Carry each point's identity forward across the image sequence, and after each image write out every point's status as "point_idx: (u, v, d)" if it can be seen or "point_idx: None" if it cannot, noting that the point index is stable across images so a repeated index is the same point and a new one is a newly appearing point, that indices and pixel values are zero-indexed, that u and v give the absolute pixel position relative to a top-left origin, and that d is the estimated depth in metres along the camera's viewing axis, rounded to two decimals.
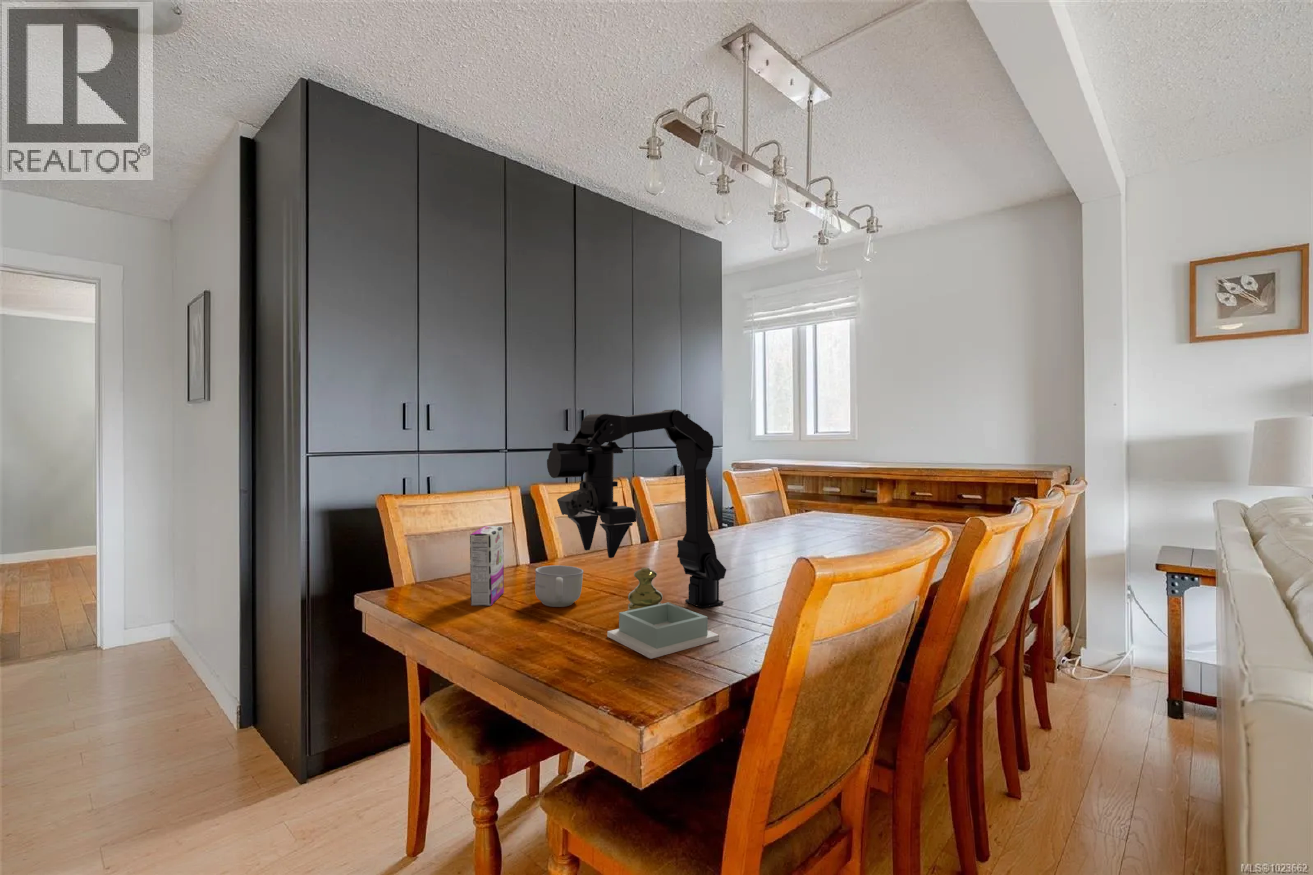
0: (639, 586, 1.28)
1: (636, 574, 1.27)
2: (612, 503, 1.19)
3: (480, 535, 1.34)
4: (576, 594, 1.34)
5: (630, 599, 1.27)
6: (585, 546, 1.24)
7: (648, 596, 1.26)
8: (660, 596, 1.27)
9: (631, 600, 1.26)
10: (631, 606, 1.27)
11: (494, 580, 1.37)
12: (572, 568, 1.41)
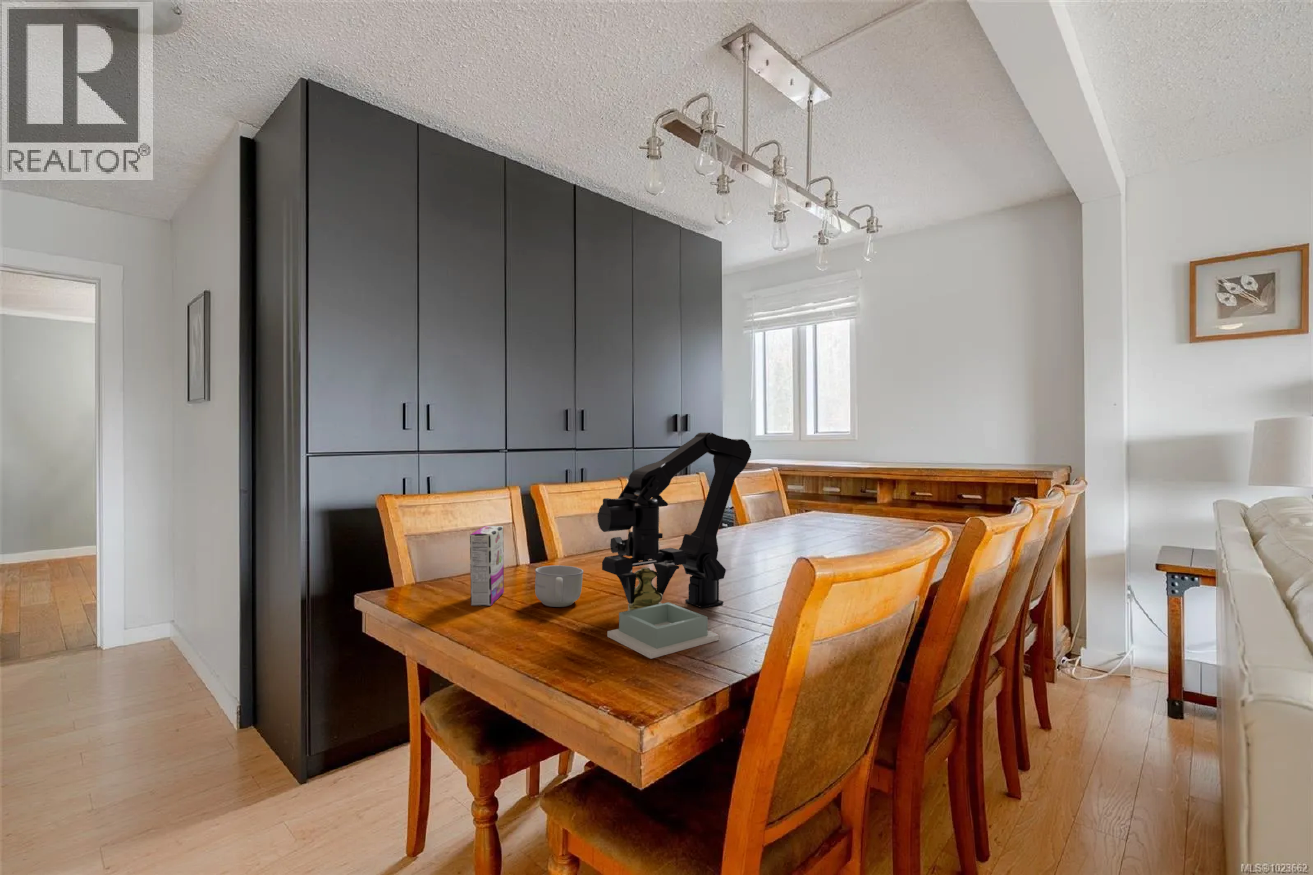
0: (639, 586, 1.28)
1: None
2: (640, 555, 1.26)
3: (480, 535, 1.34)
4: (576, 594, 1.34)
5: None
6: None
7: (648, 596, 1.26)
8: (660, 596, 1.27)
9: None
10: (631, 606, 1.27)
11: (494, 580, 1.37)
12: (572, 568, 1.41)
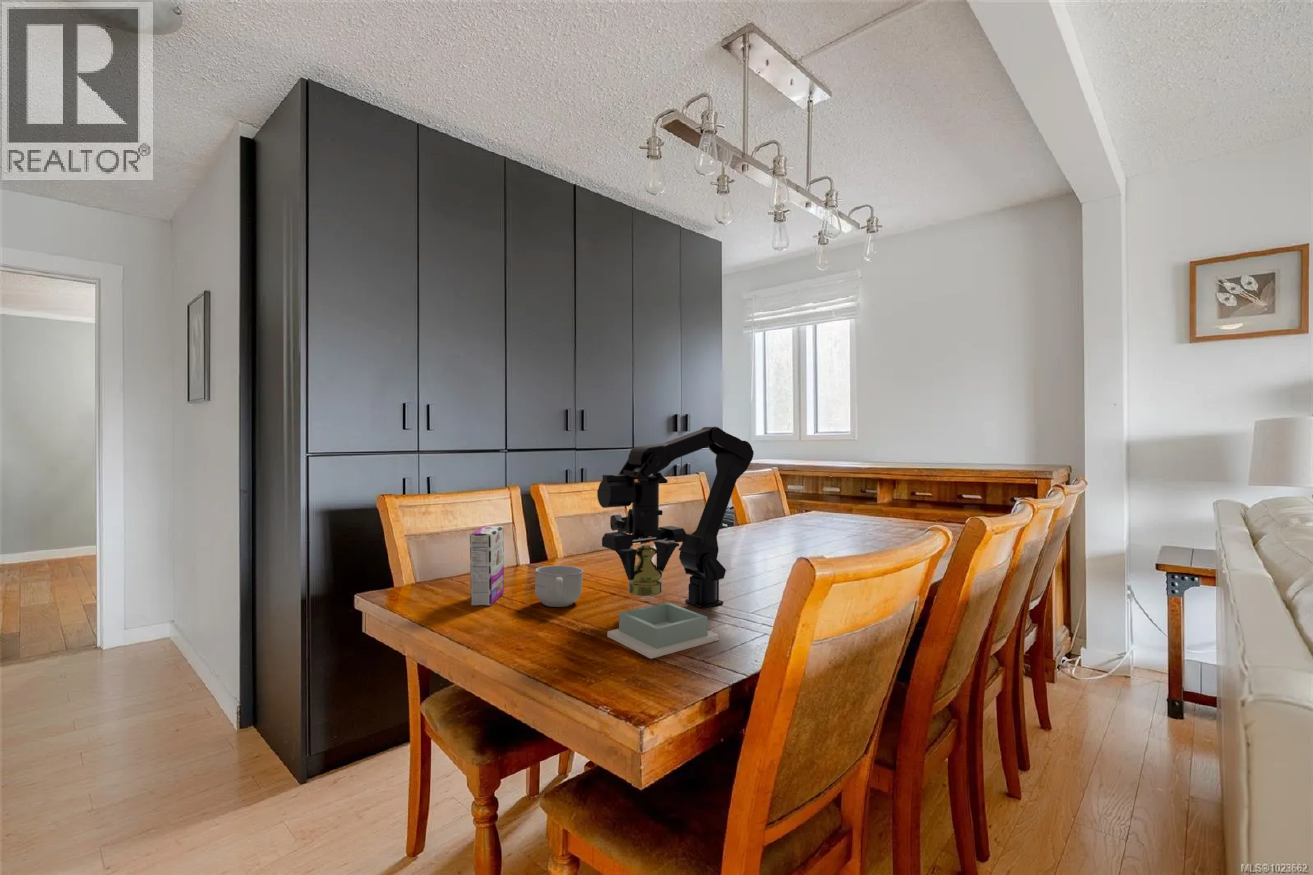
0: (639, 563, 1.28)
1: (636, 551, 1.27)
2: (640, 532, 1.26)
3: (480, 535, 1.34)
4: (576, 594, 1.34)
5: None
6: None
7: (648, 573, 1.26)
8: (660, 573, 1.27)
9: None
10: (631, 583, 1.27)
11: (494, 580, 1.37)
12: (572, 568, 1.41)
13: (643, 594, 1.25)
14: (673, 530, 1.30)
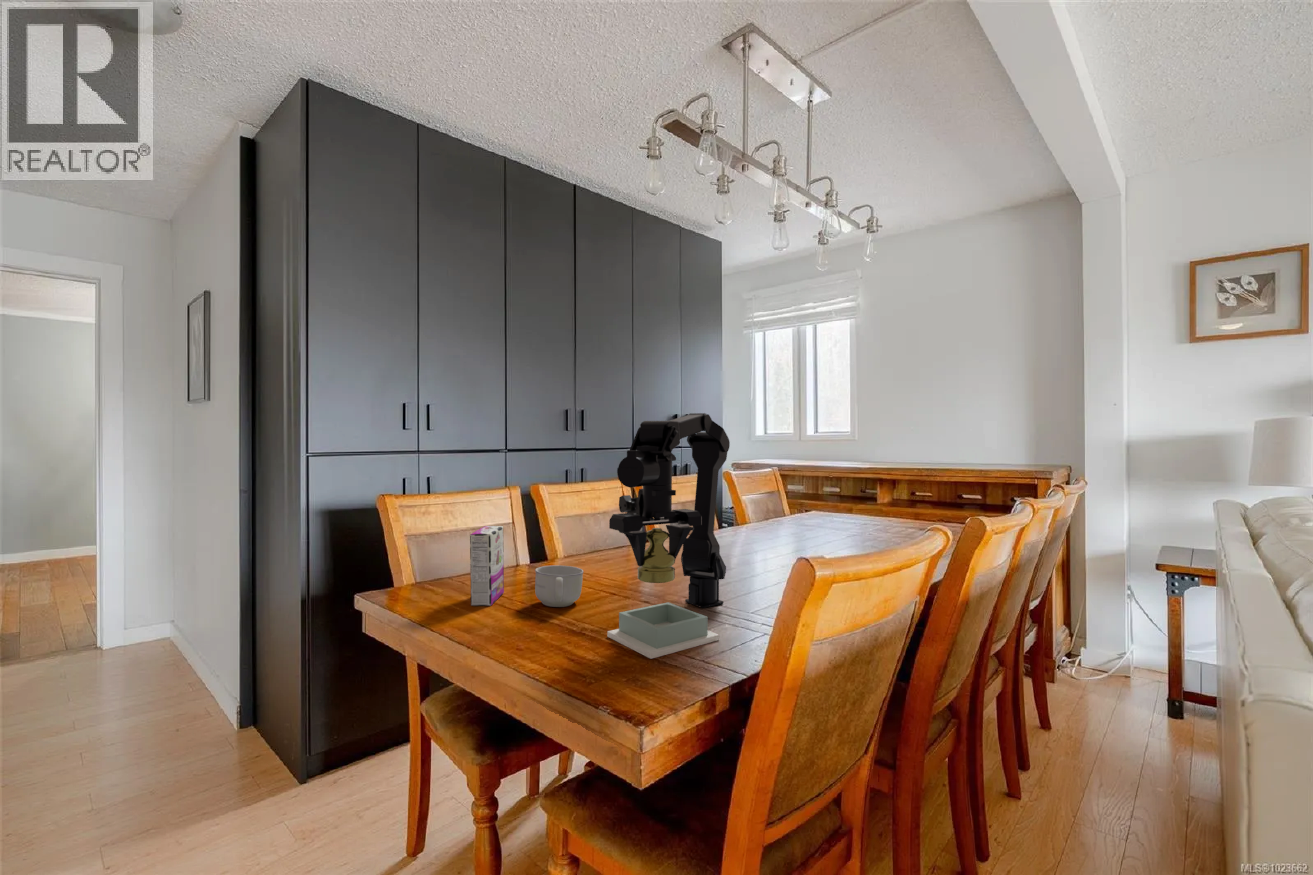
0: (650, 547, 1.17)
1: None
2: (651, 513, 1.15)
3: (480, 535, 1.34)
4: (576, 594, 1.34)
5: None
6: None
7: (660, 558, 1.15)
8: (672, 558, 1.16)
9: None
10: (641, 569, 1.16)
11: (494, 580, 1.37)
12: (572, 568, 1.41)
13: (654, 581, 1.14)
14: (687, 512, 1.19)
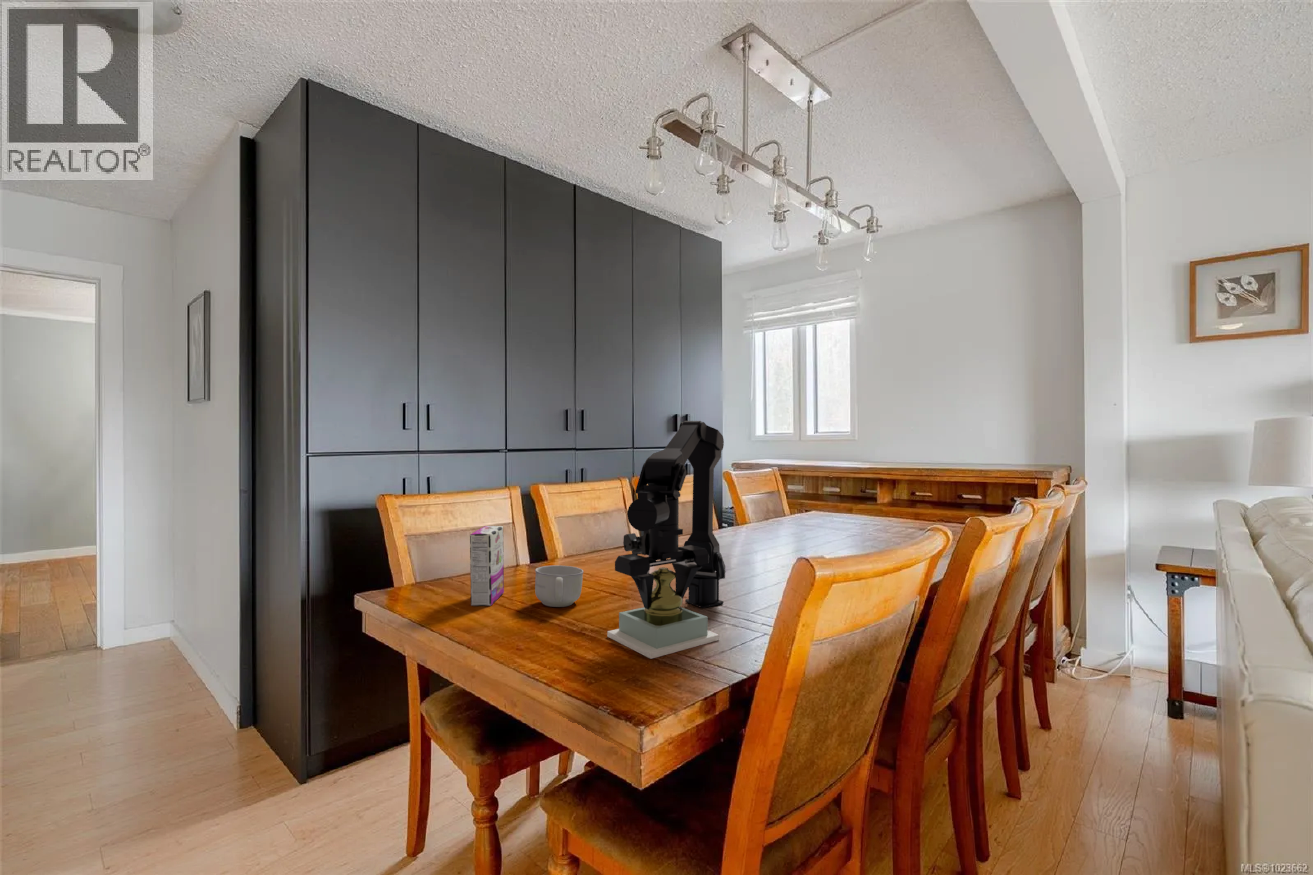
0: (656, 588, 1.13)
1: None
2: (658, 554, 1.11)
3: (480, 535, 1.34)
4: (576, 594, 1.34)
5: None
6: None
7: (667, 600, 1.11)
8: (680, 600, 1.13)
9: None
10: (647, 611, 1.13)
11: (494, 580, 1.37)
12: (572, 568, 1.41)
13: (661, 624, 1.11)
14: (694, 551, 1.16)
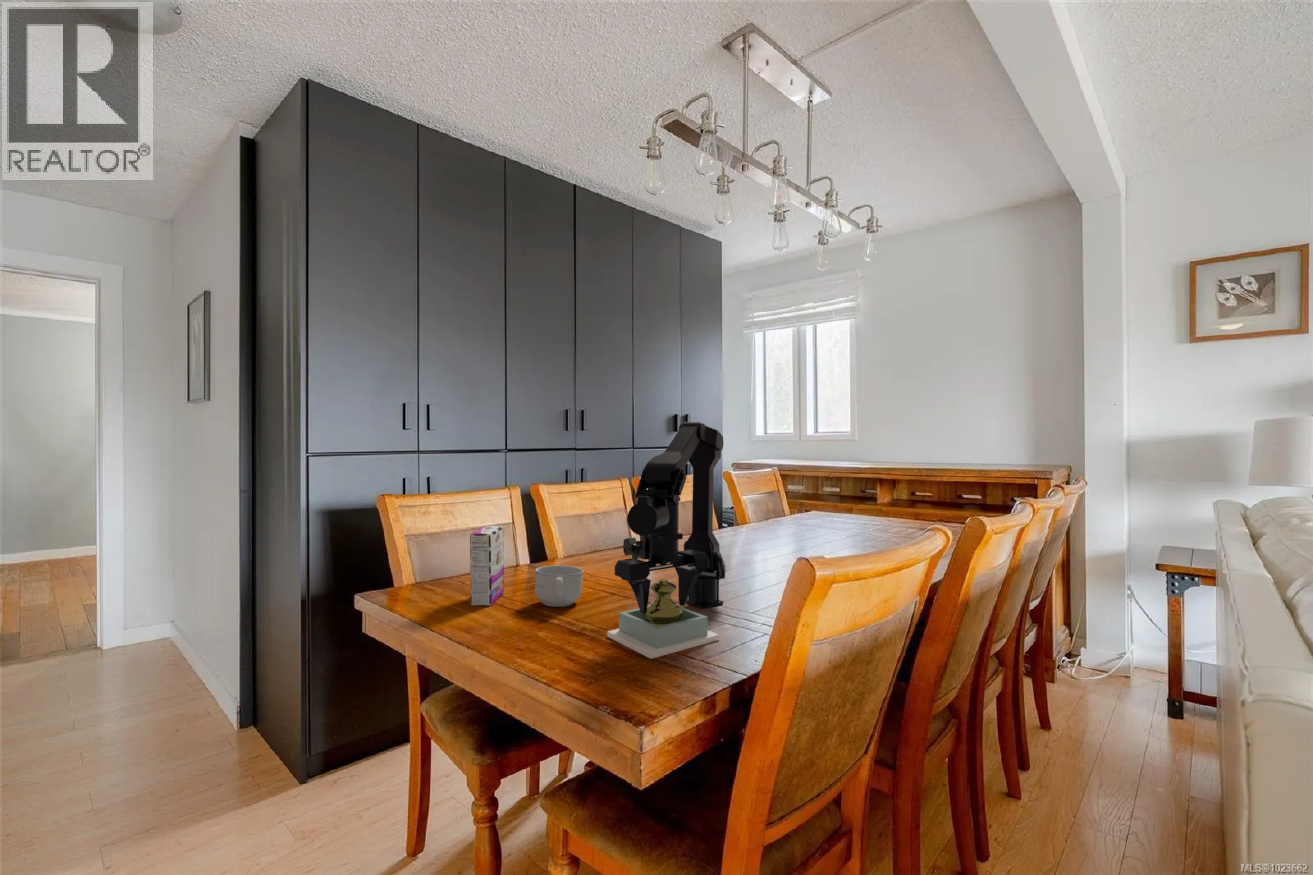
0: (656, 600, 1.13)
1: (653, 587, 1.13)
2: (658, 559, 1.11)
3: (480, 535, 1.34)
4: (576, 594, 1.34)
5: (646, 615, 1.12)
6: (679, 600, 1.17)
7: (667, 612, 1.11)
8: (680, 612, 1.13)
9: (647, 616, 1.12)
10: None
11: (494, 580, 1.37)
12: (572, 568, 1.41)
13: None
14: (694, 555, 1.16)
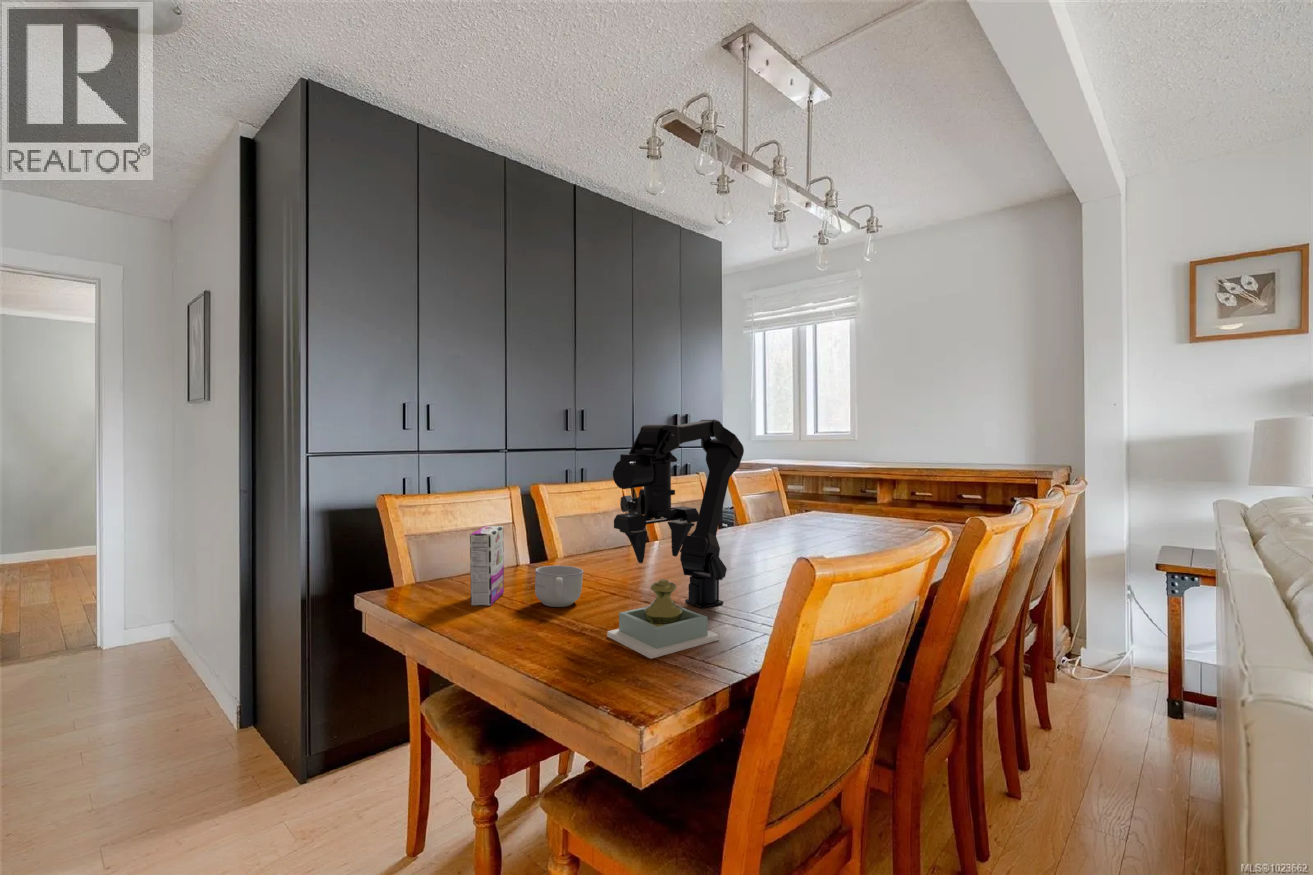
0: (656, 600, 1.13)
1: (653, 587, 1.13)
2: (653, 512, 1.22)
3: (480, 535, 1.34)
4: (576, 594, 1.34)
5: (646, 615, 1.12)
6: (672, 551, 1.28)
7: (667, 612, 1.11)
8: (680, 612, 1.13)
9: (647, 616, 1.12)
10: None
11: (494, 580, 1.37)
12: (572, 568, 1.41)
13: None
14: (686, 510, 1.27)
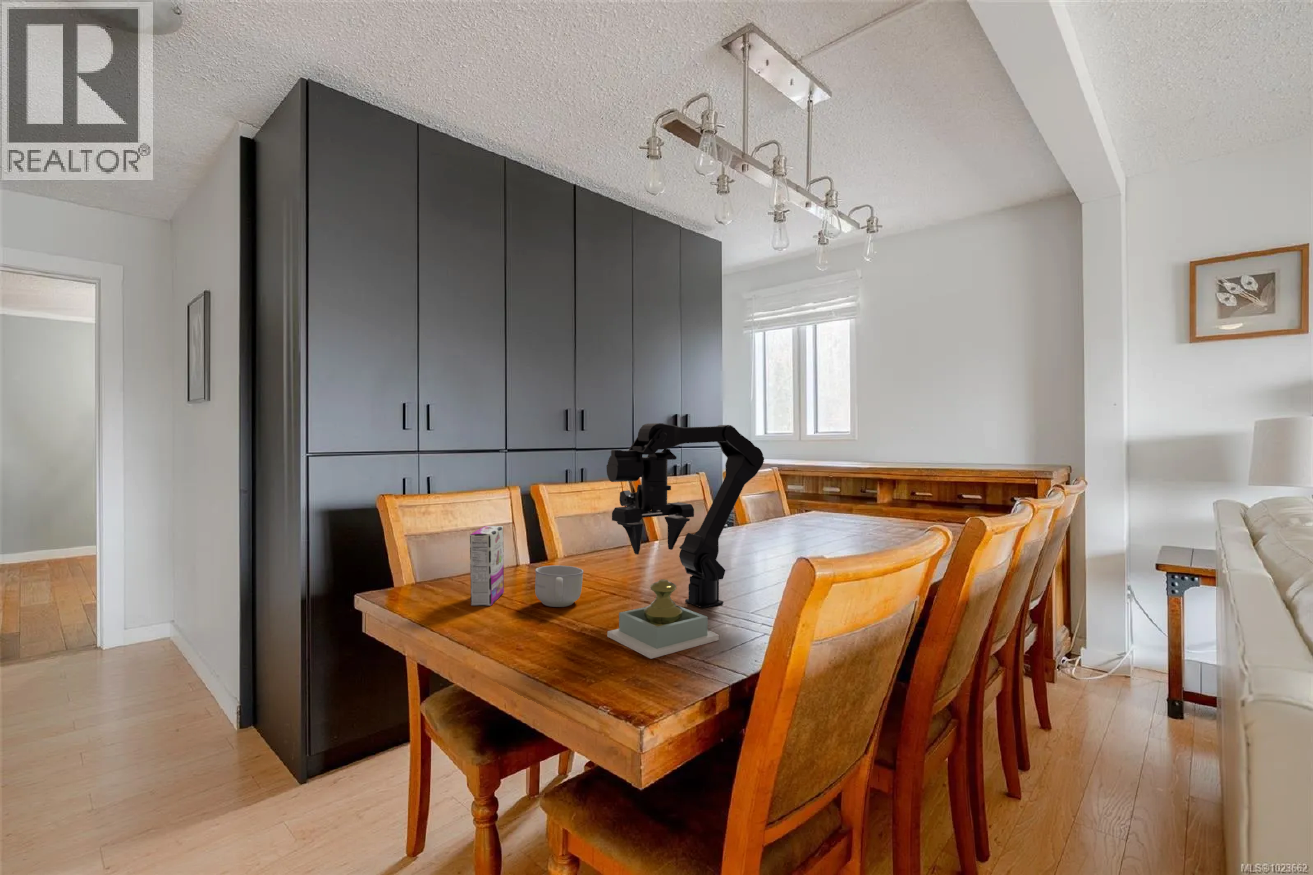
0: (656, 600, 1.13)
1: (653, 587, 1.13)
2: (649, 506, 1.28)
3: (480, 535, 1.34)
4: (576, 594, 1.34)
5: (646, 615, 1.12)
6: (668, 545, 1.34)
7: (667, 612, 1.11)
8: (680, 612, 1.13)
9: (647, 616, 1.12)
10: None
11: (494, 580, 1.37)
12: (572, 568, 1.41)
13: None
14: (681, 505, 1.33)
